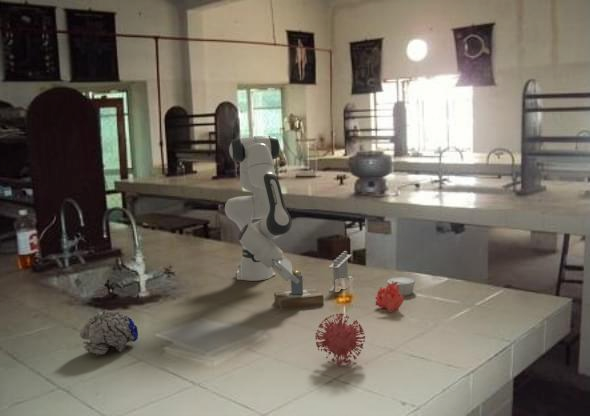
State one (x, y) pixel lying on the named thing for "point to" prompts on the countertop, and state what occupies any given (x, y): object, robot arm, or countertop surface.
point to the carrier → (297, 285)
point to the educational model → (108, 332)
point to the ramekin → (403, 285)
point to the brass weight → (296, 273)
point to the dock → (298, 299)
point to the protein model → (389, 297)
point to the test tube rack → (340, 268)
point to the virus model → (340, 338)
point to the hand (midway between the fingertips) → (298, 279)
